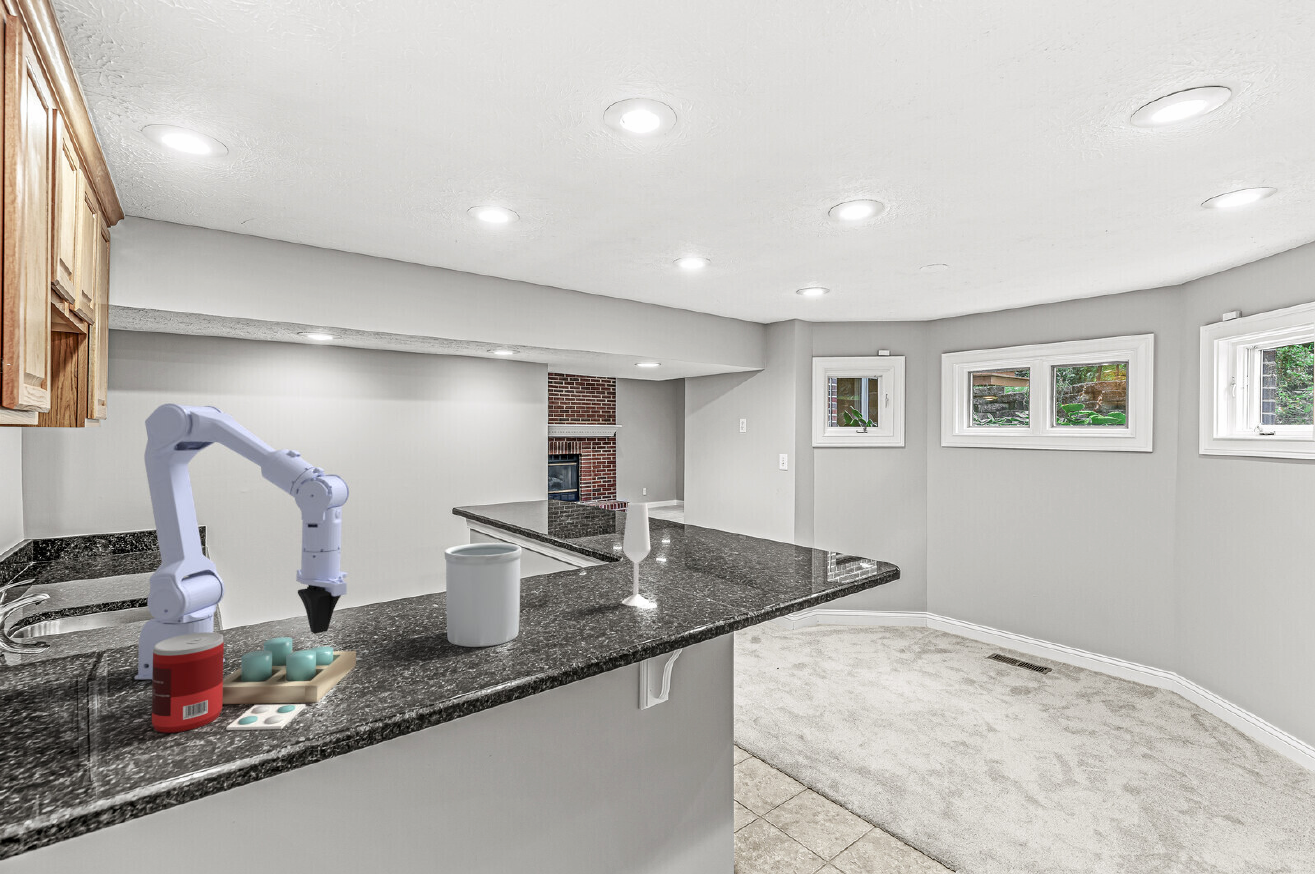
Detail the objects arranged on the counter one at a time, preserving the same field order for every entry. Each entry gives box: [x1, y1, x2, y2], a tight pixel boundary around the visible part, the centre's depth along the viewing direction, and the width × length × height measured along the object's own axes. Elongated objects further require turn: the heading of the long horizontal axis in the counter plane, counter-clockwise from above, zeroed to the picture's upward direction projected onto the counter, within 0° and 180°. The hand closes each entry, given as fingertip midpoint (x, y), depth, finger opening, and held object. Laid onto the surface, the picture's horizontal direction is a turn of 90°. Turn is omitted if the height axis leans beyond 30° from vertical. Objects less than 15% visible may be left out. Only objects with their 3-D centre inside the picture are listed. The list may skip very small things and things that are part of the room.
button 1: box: [240, 649, 272, 682], centre depth 97 cm, size 4×4×4 cm
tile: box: [226, 703, 306, 731], centre depth 89 cm, size 7×7×1 cm
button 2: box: [263, 636, 293, 666], centre depth 104 cm, size 4×4×4 cm
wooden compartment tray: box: [222, 650, 357, 705], centre depth 101 cm, size 15×15×2 cm
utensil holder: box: [444, 542, 523, 648], centre depth 126 cm, size 15×15×18 cm
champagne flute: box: [621, 502, 651, 607], centre depth 154 cm, size 7×7×24 cm
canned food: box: [151, 632, 225, 734], centre depth 87 cm, size 8×8×11 cm
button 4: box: [308, 646, 334, 666], centre depth 104 cm, size 4×4×4 cm
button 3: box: [286, 649, 316, 681], centre depth 98 cm, size 4×4×4 cm
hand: (319, 631), depth 104 cm, fingers closed
